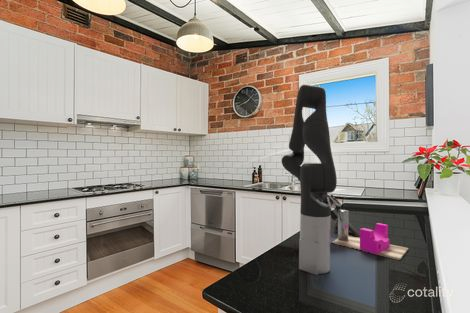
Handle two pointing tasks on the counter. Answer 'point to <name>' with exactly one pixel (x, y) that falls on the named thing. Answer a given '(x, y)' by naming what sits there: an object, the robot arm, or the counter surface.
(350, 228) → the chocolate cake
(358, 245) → the beige piece
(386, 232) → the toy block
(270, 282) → the counter surface
